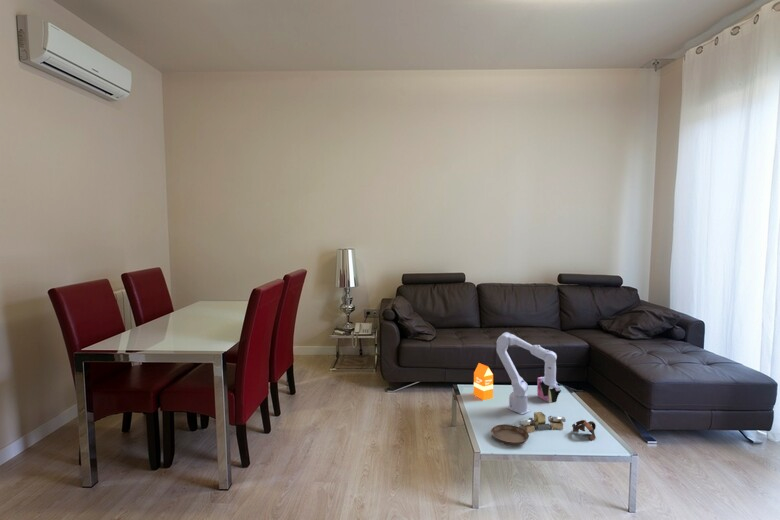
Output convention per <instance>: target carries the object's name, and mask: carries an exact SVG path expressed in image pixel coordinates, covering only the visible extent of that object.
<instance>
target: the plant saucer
mask: <svg viewBox="0 0 780 520" xmlns="http://www.w3.org/2000/svg"><path fill="white" fill-rule="evenodd" d="M490 433H491V435H492V437H493V438H494V439H495V440H496V441H497V442H499V443H500V444H503V445H505V446H511V447H514V446H515V447H516V446H522V445H524V444H525V443H526V442H527V441H528V440H529V437H530V434H529V433H528V432H527V431H525V430H524V429H522V428H520V426H517V425H515V424H514V425H513V424H498V425H495V426H492V428H491V430H490Z"/></svg>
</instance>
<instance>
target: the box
mask: <svg viewBox="0 0 780 520" xmlns="http://www.w3.org/2000/svg"><path fill="white" fill-rule="evenodd" d="M543 377H544V376H540V377H537V382H536V383H537V398H540V399H542V400H543V401H545V402H547V403H549V404H551V403H553V402H552V399H551V392H550V390H548V396H544V395H543V391H542V388H541V386H540V383H542V382H541V378H543ZM549 389H553V388H552V387H551V386H549Z"/></svg>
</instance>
